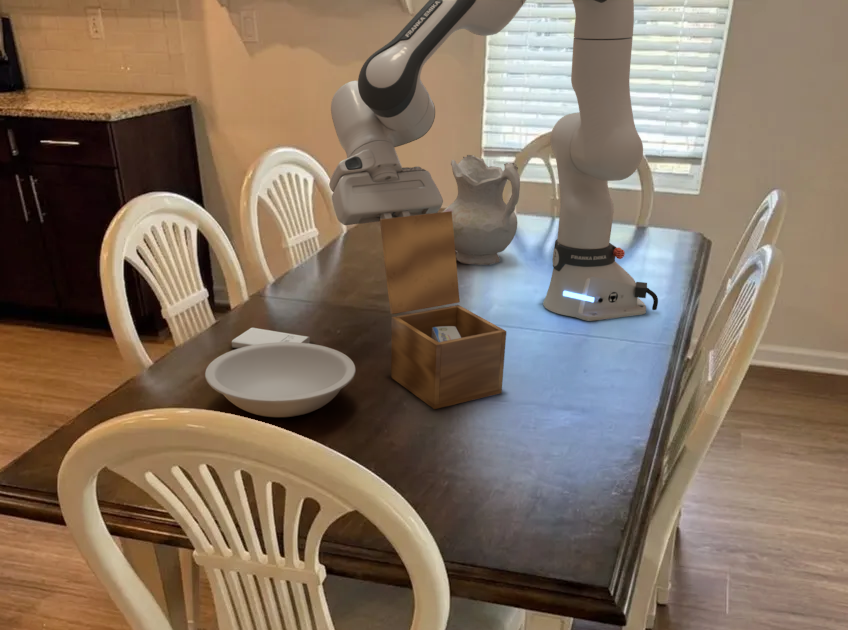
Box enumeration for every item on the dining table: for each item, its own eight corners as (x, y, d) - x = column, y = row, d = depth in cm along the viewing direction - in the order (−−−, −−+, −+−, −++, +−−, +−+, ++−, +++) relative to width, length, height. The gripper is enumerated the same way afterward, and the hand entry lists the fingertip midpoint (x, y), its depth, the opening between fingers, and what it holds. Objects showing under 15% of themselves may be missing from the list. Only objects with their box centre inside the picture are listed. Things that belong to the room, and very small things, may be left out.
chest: (501, 393, 148) (506, 330, 142) (434, 409, 141) (436, 344, 135) (455, 363, 158) (458, 304, 152) (391, 377, 152) (391, 316, 146)
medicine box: (462, 389, 146) (465, 341, 142) (437, 390, 146) (438, 342, 141) (454, 371, 153) (456, 325, 149) (429, 372, 152) (431, 326, 148)
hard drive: (253, 334, 168) (310, 343, 165) (232, 348, 161) (291, 358, 158) (252, 326, 167) (309, 335, 164) (231, 340, 161) (290, 350, 157)
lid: (452, 211, 147) (449, 211, 147) (381, 219, 140) (379, 219, 141) (459, 302, 152) (457, 302, 152) (392, 314, 145) (390, 313, 146)
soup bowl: (292, 454, 127) (290, 414, 123) (177, 413, 137) (172, 375, 134) (384, 398, 144) (384, 362, 141) (276, 366, 155) (273, 331, 151)
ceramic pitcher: (534, 263, 220) (546, 161, 208) (498, 275, 205) (510, 166, 193) (462, 249, 230) (470, 151, 218) (423, 260, 215) (430, 155, 203)
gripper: (420, 176, 159) (445, 241, 157) (320, 185, 150) (346, 254, 148) (433, 155, 154) (459, 222, 152) (330, 163, 144) (357, 235, 142)
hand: (403, 238), depth 150 cm, fingers closed
